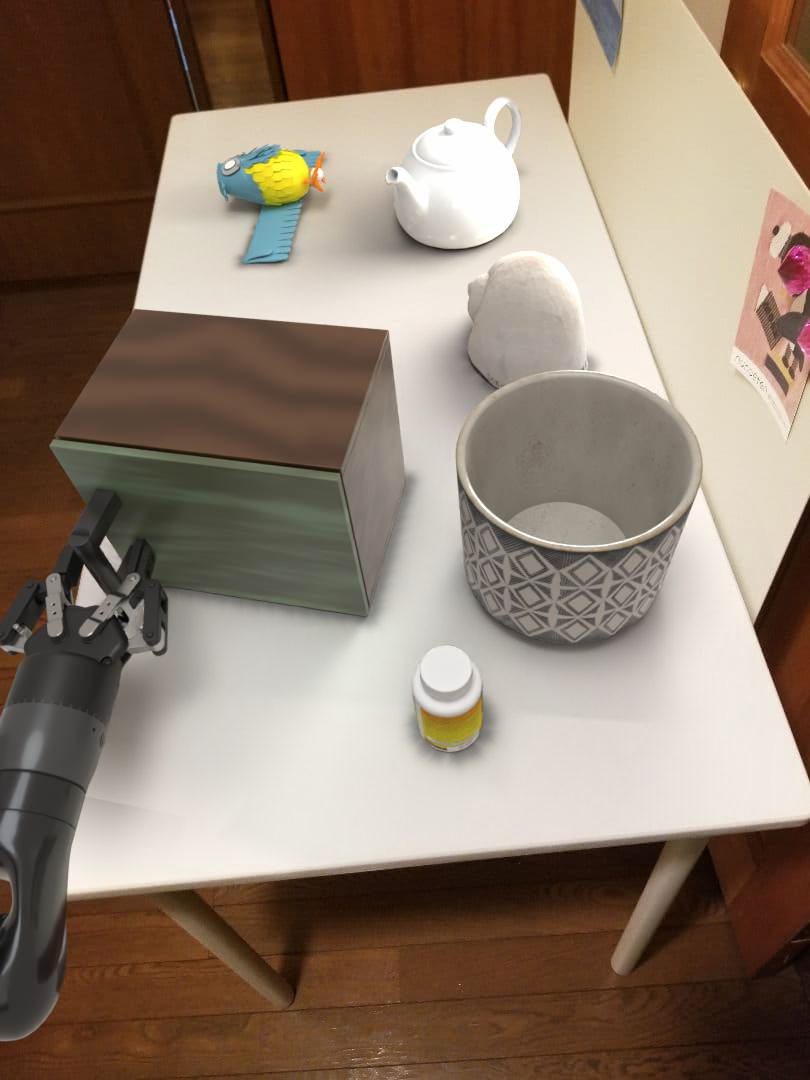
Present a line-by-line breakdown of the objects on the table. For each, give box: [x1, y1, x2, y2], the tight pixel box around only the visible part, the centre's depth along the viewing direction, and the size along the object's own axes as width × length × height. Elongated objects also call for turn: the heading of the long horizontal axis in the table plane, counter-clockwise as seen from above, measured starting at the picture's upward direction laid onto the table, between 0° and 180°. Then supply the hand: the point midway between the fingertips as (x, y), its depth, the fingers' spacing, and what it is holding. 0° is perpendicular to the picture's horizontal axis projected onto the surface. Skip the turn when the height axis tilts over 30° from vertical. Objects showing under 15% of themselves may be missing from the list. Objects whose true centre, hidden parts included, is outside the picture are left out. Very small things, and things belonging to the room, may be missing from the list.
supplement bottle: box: [411, 644, 484, 753], centre depth 65 cm, size 6×6×10 cm
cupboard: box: [54, 308, 407, 609], centre depth 75 cm, size 16×24×20 cm, turn 78°
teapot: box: [384, 96, 523, 250], centre depth 108 cm, size 19×18×14 cm
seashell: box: [467, 250, 589, 389], centre depth 93 cm, size 15×14×15 cm
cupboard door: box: [48, 438, 370, 617], centre depth 68 cm, size 7×24×20 cm, turn 78°
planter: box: [455, 370, 704, 644], centre depth 71 cm, size 19×19×16 cm
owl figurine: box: [216, 143, 327, 265], centre depth 115 cm, size 28×9×15 cm
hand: (111, 544), depth 70 cm, fingers open, 5 cm apart
